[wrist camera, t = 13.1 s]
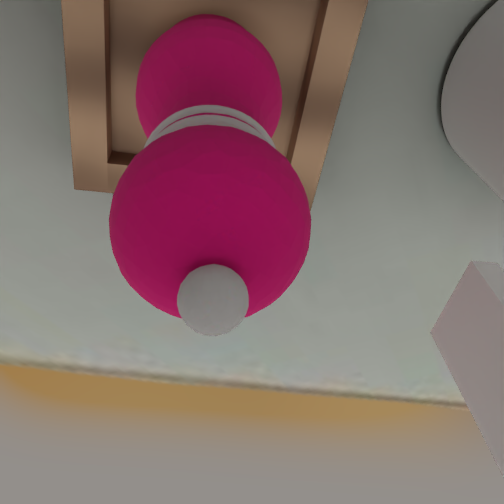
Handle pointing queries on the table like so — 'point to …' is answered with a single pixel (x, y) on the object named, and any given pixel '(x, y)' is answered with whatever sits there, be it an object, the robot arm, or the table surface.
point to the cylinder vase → (478, 99)
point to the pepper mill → (209, 181)
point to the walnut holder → (161, 20)
